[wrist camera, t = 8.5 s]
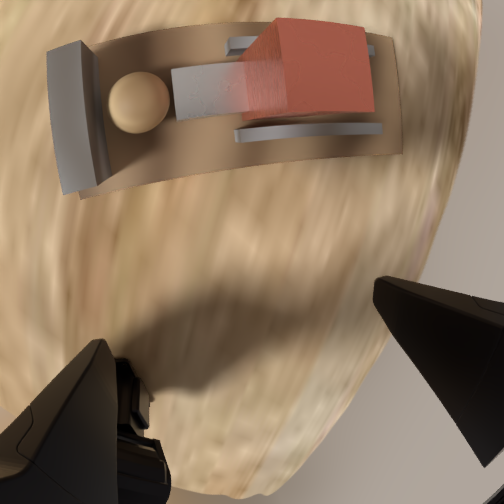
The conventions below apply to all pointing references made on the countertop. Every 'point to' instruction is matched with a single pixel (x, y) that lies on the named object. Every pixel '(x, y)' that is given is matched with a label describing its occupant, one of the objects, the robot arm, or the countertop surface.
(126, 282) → the countertop surface
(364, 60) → the block
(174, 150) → the nutcracker base
